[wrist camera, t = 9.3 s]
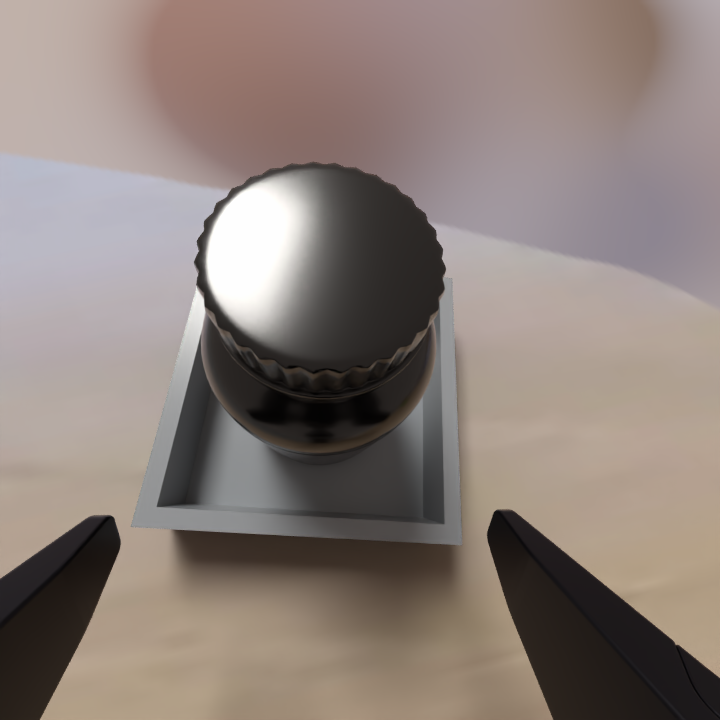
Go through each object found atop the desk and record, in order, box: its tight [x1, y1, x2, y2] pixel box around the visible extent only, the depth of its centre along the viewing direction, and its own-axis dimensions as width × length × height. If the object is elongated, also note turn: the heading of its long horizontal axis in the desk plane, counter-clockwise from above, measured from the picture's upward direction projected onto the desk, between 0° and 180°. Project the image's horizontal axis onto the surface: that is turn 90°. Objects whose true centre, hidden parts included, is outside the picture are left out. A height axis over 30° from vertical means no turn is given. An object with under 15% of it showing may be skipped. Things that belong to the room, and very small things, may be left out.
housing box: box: [131, 277, 462, 545], centre depth 16 cm, size 12×12×4 cm
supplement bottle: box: [194, 162, 446, 465], centre depth 12 cm, size 7×7×12 cm
